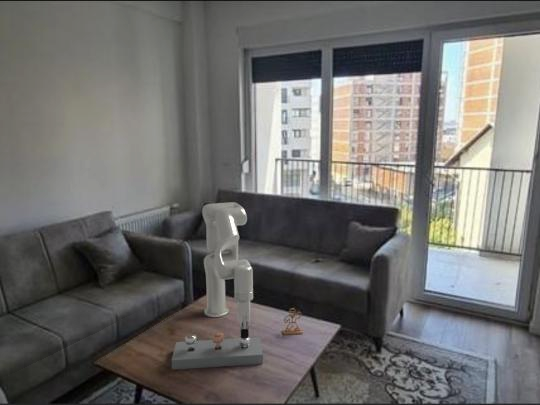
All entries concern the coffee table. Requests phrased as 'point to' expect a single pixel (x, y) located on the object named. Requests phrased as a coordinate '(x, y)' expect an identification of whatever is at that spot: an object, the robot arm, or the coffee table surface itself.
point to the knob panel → (217, 354)
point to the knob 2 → (244, 341)
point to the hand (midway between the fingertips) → (244, 336)
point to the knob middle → (217, 339)
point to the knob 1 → (190, 340)
